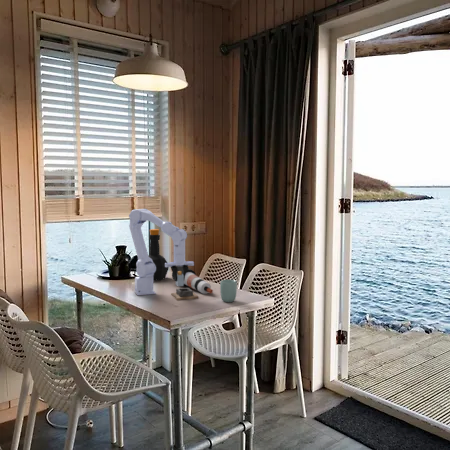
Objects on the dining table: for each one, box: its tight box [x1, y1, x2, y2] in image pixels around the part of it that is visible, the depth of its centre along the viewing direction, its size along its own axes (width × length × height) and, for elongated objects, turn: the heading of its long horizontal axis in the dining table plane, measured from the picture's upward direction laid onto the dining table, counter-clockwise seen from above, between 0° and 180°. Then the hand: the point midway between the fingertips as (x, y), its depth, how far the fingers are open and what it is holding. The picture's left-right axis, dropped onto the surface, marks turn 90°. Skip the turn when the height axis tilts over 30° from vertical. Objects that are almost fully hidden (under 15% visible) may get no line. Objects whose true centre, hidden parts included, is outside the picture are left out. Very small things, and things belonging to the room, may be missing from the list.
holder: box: [170, 287, 199, 301], centre depth 223 cm, size 11×11×4 cm
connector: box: [175, 271, 184, 287], centre depth 221 cm, size 3×4×7 cm
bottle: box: [148, 228, 170, 282], centre depth 265 cm, size 16×16×30 cm
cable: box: [171, 266, 214, 295], centre depth 239 cm, size 10×34×10 cm, turn 34°
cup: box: [219, 279, 238, 303], centre depth 215 cm, size 8×8×10 cm
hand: (179, 280), depth 222 cm, fingers closed on connector, 3 cm apart
